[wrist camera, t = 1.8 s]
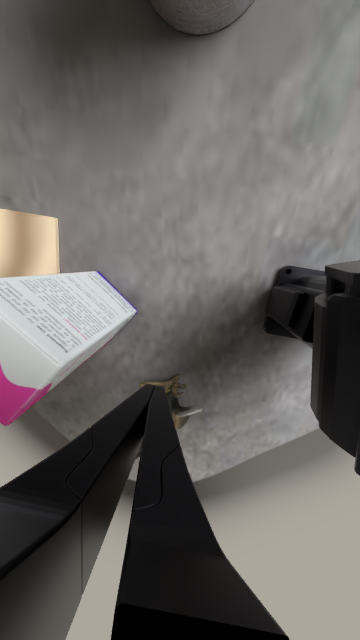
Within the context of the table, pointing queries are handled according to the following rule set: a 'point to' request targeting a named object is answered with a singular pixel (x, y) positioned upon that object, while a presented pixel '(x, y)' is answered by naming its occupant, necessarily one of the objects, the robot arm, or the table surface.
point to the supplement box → (52, 332)
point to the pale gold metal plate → (28, 244)
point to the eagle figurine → (174, 403)
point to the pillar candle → (200, 14)
